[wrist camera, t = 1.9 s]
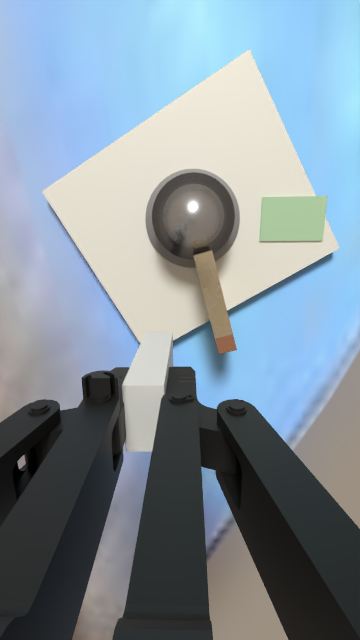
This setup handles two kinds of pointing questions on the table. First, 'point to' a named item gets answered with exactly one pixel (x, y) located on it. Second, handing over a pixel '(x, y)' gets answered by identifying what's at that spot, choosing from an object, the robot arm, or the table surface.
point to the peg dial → (198, 237)
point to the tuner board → (211, 159)
